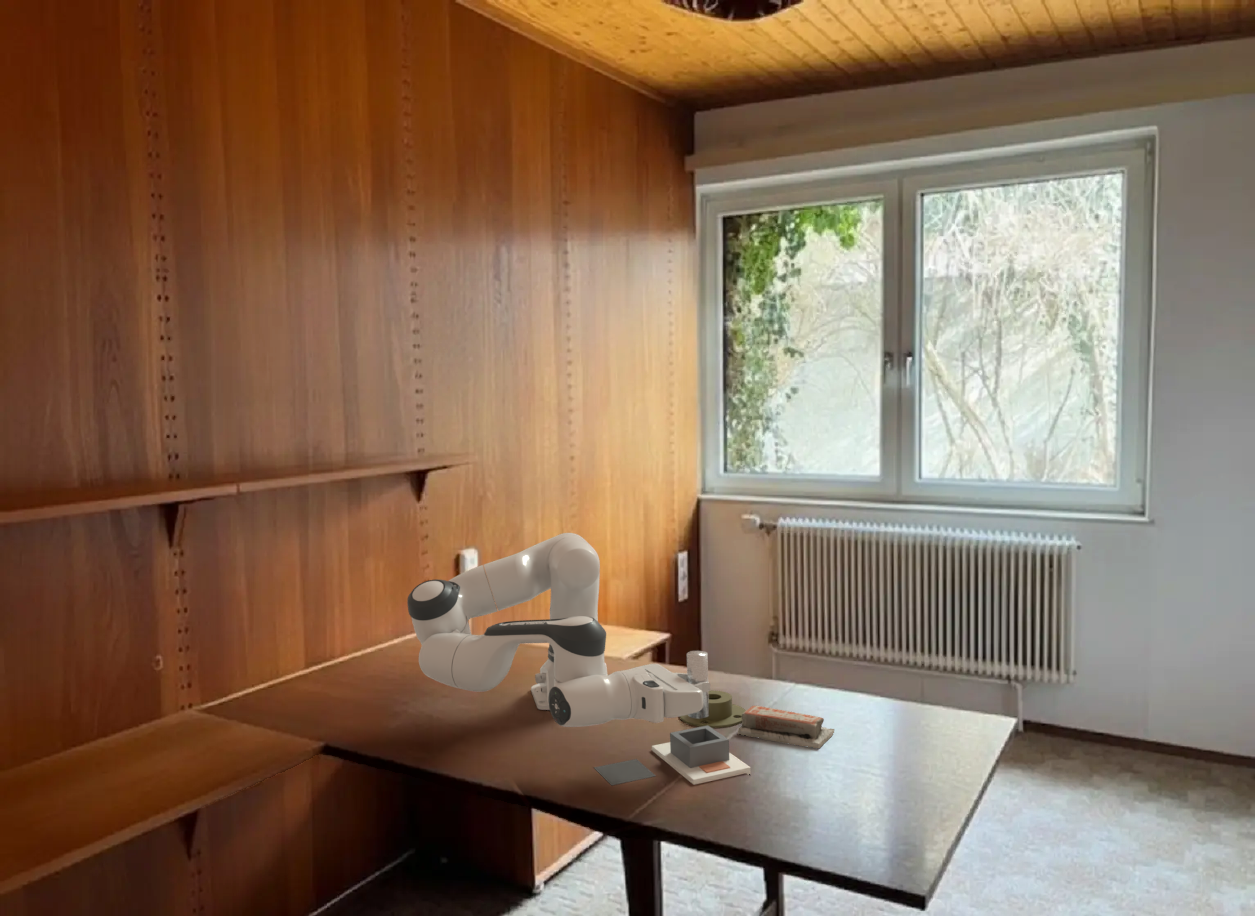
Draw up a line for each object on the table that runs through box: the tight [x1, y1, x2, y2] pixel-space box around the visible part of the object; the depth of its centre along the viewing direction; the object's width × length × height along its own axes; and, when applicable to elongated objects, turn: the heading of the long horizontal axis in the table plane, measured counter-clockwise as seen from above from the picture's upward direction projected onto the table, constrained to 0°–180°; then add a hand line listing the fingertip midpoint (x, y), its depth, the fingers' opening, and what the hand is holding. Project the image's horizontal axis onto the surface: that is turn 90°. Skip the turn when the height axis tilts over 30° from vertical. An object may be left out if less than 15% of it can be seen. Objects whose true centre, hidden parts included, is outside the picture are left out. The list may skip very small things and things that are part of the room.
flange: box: [678, 689, 747, 729], centre depth 208 cm, size 5×15×15 cm
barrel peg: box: [686, 650, 709, 719], centre depth 181 cm, size 4×4×12 cm
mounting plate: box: [651, 725, 752, 785], centre depth 182 cm, size 18×12×6 cm, turn 24°
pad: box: [593, 758, 657, 787], centre depth 178 cm, size 9×9×1 cm
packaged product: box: [737, 705, 835, 749], centre depth 196 cm, size 18×5×10 cm
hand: (701, 681), depth 181 cm, fingers closed on barrel peg, 4 cm apart
